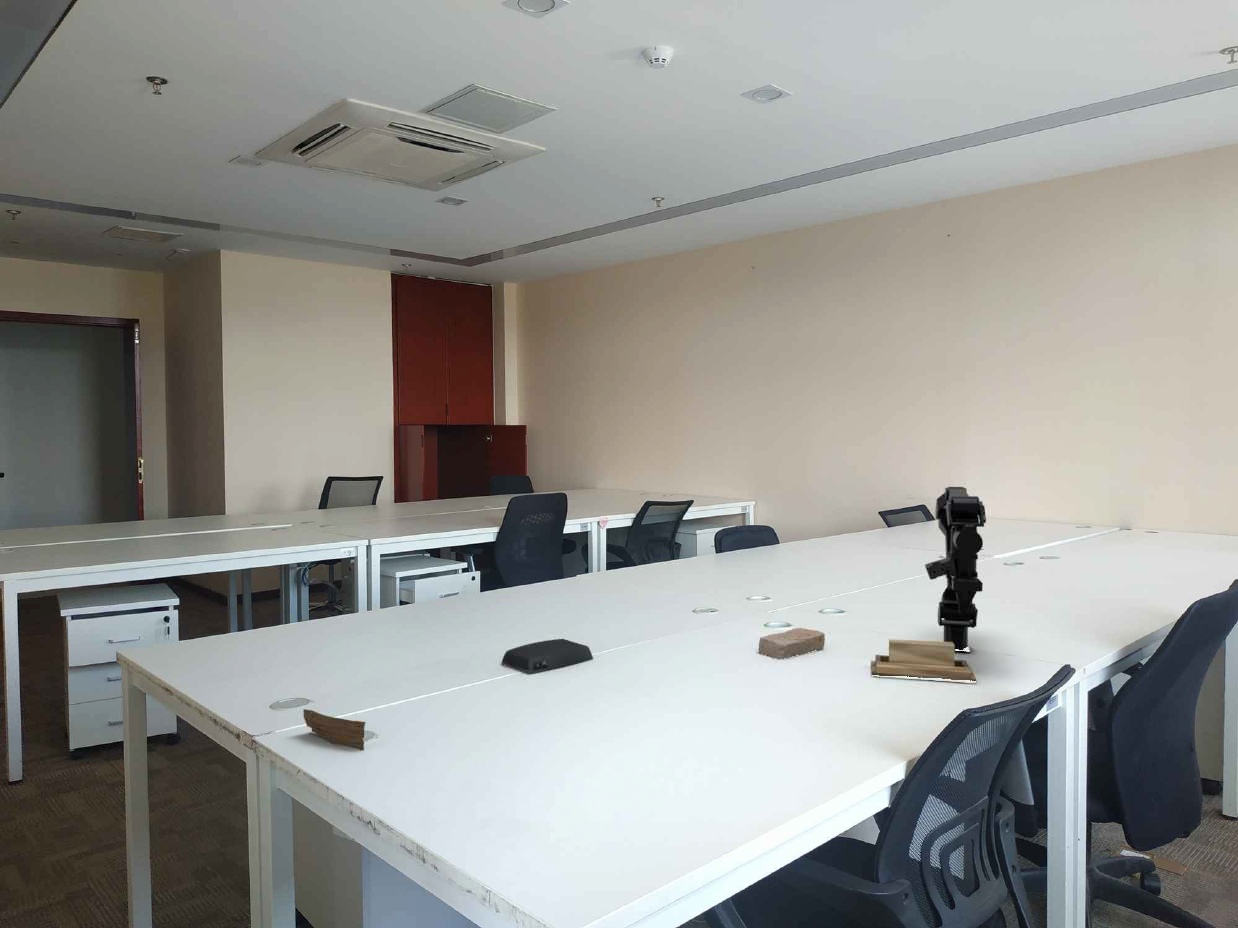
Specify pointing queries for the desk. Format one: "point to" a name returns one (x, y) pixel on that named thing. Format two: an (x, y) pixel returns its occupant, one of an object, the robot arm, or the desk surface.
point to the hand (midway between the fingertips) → (962, 614)
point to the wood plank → (336, 729)
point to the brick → (791, 643)
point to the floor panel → (921, 669)
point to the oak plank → (921, 652)
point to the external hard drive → (546, 656)
